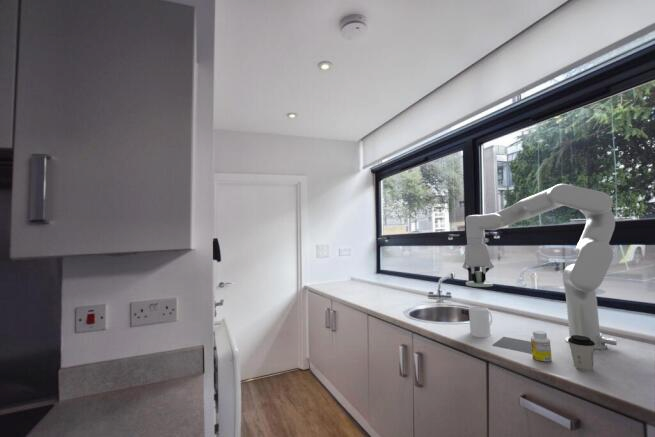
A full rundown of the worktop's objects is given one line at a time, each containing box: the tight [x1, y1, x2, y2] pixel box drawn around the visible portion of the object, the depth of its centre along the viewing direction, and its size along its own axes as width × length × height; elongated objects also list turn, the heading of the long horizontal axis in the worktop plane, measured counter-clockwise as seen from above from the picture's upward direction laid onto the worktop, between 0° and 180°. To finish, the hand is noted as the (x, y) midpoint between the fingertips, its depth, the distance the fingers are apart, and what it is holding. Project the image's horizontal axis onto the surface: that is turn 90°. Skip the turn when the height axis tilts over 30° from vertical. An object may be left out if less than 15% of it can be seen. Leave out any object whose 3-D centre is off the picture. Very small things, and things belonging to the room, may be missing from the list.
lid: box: [465, 270, 494, 288], centre depth 140 cm, size 11×11×6 cm
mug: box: [468, 306, 493, 338], centre depth 138 cm, size 12×8×12 cm
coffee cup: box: [568, 335, 595, 373], centre depth 101 cm, size 7×7×10 cm
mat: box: [491, 336, 532, 355], centre depth 123 cm, size 14×14×1 cm
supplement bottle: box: [530, 330, 553, 364], centre depth 108 cm, size 6×6×10 cm
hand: (478, 281), depth 140 cm, fingers closed on lid, 2 cm apart
